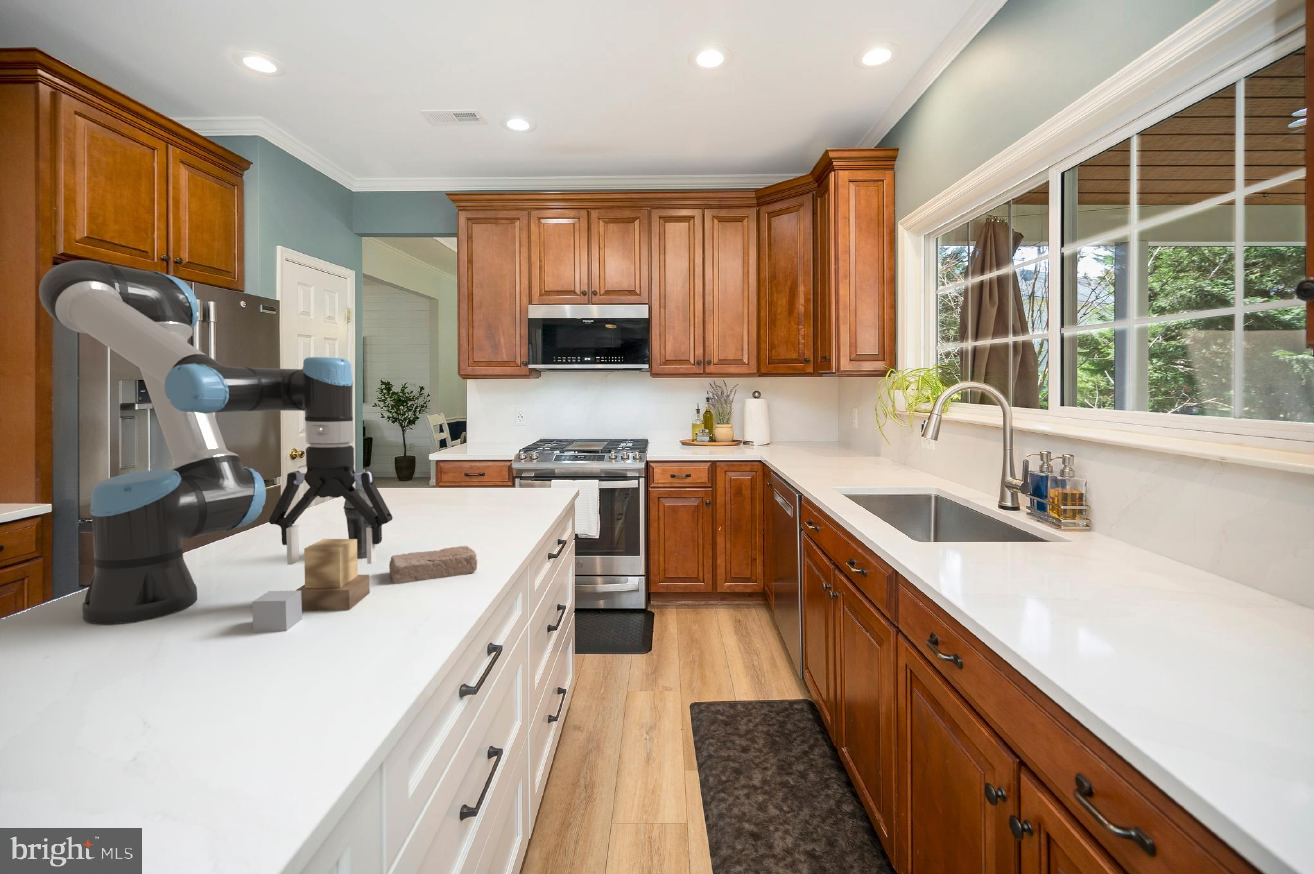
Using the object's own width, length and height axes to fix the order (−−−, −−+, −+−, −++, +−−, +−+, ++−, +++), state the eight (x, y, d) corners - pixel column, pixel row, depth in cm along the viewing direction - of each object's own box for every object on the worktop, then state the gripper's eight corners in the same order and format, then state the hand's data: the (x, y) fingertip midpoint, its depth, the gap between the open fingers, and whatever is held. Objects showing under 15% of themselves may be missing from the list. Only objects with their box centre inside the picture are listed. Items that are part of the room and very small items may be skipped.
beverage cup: (337, 559, 137) (335, 471, 135) (358, 550, 144) (356, 467, 143) (366, 560, 136) (364, 472, 134) (386, 552, 143) (384, 468, 141)
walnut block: (295, 613, 105) (295, 590, 104) (320, 595, 114) (319, 574, 113) (349, 612, 106) (349, 589, 105) (369, 595, 114) (369, 574, 114)
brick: (393, 586, 120) (393, 563, 119) (388, 574, 127) (388, 552, 126) (478, 575, 128) (478, 553, 128) (469, 564, 135) (468, 544, 135)
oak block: (304, 587, 106) (304, 548, 105) (324, 575, 113) (323, 538, 112) (340, 587, 106) (339, 548, 106) (357, 575, 113) (357, 539, 113)
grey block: (253, 632, 96) (252, 601, 95) (270, 620, 101) (269, 591, 100) (286, 631, 96) (285, 600, 96) (302, 619, 101) (301, 590, 101)
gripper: (243, 446, 103) (247, 568, 104) (395, 447, 105) (397, 567, 106) (267, 442, 110) (271, 557, 112) (409, 443, 112) (410, 555, 114)
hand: (333, 562), depth 109 cm, fingers open, 13 cm apart
